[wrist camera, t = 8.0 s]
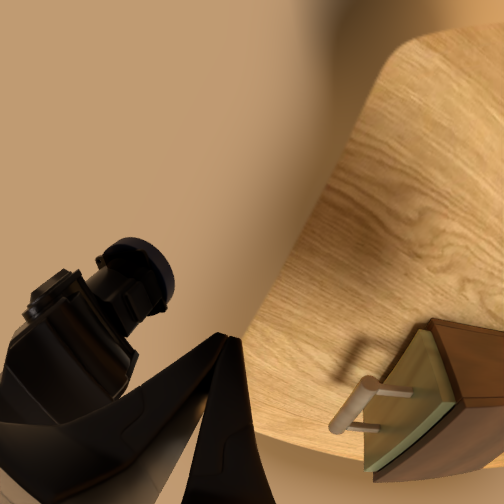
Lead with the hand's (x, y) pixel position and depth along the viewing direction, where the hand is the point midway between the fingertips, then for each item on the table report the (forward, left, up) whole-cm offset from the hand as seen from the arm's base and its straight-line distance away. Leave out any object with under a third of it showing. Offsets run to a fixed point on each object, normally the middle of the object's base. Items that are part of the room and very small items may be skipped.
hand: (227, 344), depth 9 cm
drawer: (+11, -15, -9) cm, 21 cm away
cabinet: (+15, -16, -10) cm, 24 cm away
